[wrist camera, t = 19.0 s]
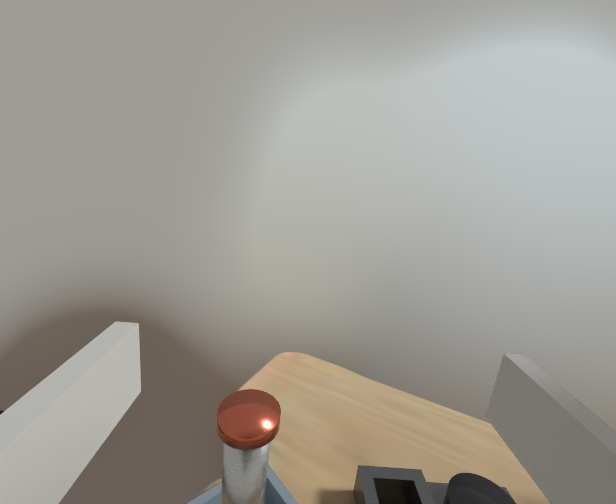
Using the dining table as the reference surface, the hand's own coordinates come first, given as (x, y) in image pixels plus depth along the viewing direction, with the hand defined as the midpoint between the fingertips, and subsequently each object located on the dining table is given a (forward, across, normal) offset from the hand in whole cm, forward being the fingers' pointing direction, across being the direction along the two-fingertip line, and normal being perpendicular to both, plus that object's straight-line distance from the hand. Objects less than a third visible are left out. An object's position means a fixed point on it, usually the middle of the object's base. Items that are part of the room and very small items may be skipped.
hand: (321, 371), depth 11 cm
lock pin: (+10, -4, -30) cm, 32 cm away
